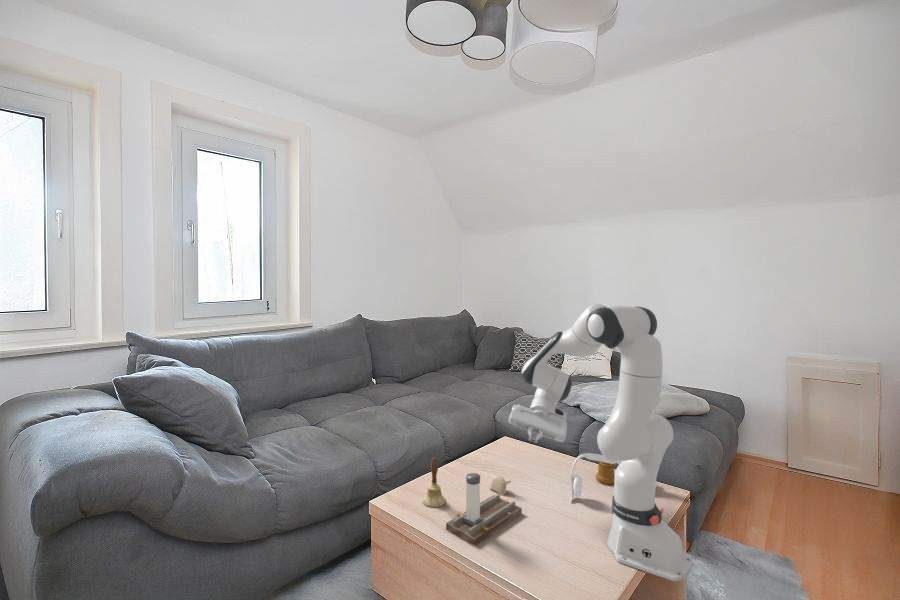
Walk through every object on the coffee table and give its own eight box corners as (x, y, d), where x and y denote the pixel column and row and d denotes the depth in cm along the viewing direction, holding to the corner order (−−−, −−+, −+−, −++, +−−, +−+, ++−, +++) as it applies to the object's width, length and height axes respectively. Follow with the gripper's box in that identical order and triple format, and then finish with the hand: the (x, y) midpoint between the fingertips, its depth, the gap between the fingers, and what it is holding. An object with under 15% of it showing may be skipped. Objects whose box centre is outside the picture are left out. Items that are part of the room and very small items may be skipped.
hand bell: (450, 500, 156) (450, 456, 154) (435, 510, 149) (434, 465, 148) (433, 492, 161) (432, 450, 160) (417, 502, 154) (417, 458, 153)
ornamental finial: (599, 474, 175) (618, 480, 170) (593, 481, 169) (612, 487, 165) (599, 455, 174) (619, 460, 170) (593, 461, 168) (613, 467, 164)
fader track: (521, 513, 147) (521, 503, 147) (474, 545, 130) (474, 534, 130) (493, 500, 155) (493, 491, 155) (446, 529, 138) (446, 518, 138)
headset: (630, 506, 151) (632, 456, 150) (629, 516, 145) (630, 464, 144) (572, 493, 160) (572, 446, 159) (568, 502, 154) (569, 453, 153)
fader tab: (483, 521, 138) (483, 476, 137) (474, 527, 135) (474, 481, 134) (472, 515, 141) (472, 471, 140) (462, 521, 138) (462, 476, 137)
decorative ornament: (496, 485, 166) (496, 471, 166) (512, 493, 160) (512, 479, 160) (488, 488, 164) (488, 475, 164) (504, 497, 158) (505, 483, 157)
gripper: (515, 396, 160) (504, 423, 150) (571, 415, 154) (563, 445, 144) (513, 408, 164) (502, 435, 153) (567, 427, 158) (560, 457, 147)
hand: (532, 440), depth 148 cm, fingers closed
